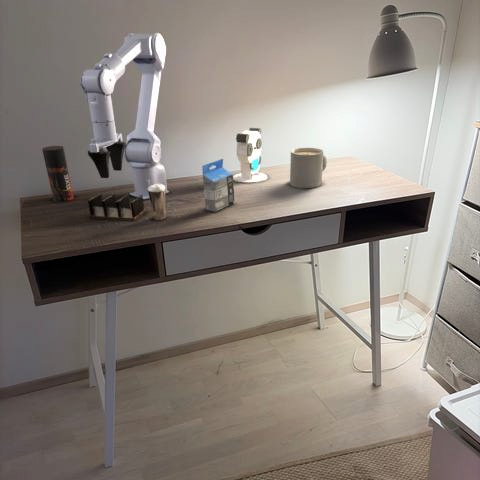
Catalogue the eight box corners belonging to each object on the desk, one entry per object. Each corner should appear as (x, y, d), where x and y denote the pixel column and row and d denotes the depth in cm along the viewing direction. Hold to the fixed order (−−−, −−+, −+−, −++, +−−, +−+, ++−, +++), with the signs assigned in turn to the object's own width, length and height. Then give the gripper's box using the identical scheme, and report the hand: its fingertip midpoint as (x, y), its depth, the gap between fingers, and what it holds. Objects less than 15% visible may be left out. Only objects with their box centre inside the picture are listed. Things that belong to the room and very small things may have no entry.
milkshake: (158, 213, 141) (153, 177, 136) (171, 217, 138) (168, 180, 133) (145, 218, 138) (141, 181, 133) (159, 222, 135) (155, 184, 130)
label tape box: (215, 212, 140) (213, 167, 134) (204, 209, 142) (201, 165, 136) (235, 203, 146) (233, 160, 140) (224, 201, 148) (222, 158, 142)
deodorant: (69, 201, 153) (59, 150, 145) (50, 201, 153) (38, 150, 145) (76, 195, 158) (66, 145, 150) (57, 195, 158) (46, 145, 150)
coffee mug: (301, 189, 156) (302, 156, 151) (284, 182, 163) (284, 150, 158) (336, 183, 161) (339, 150, 156) (318, 176, 169) (320, 144, 164)
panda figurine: (258, 184, 162) (257, 135, 155) (226, 181, 167) (224, 133, 159) (272, 175, 171) (272, 128, 164) (242, 172, 176) (240, 126, 168)
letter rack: (90, 218, 139) (87, 200, 136) (102, 210, 145) (99, 192, 142) (134, 221, 136) (131, 202, 134) (145, 212, 142) (142, 194, 139)
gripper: (102, 116, 138) (110, 166, 145) (74, 125, 126) (84, 180, 133) (126, 116, 137) (133, 167, 144) (100, 126, 125) (109, 181, 132)
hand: (111, 173), depth 138 cm, fingers open, 7 cm apart
